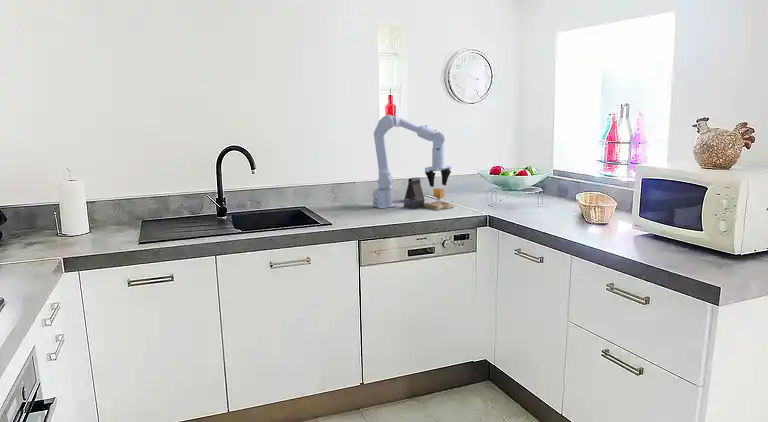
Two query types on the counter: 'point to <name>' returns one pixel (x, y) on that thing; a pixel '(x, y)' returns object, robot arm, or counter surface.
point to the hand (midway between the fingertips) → (438, 185)
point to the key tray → (433, 206)
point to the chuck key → (438, 195)
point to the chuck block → (414, 203)
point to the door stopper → (414, 189)
